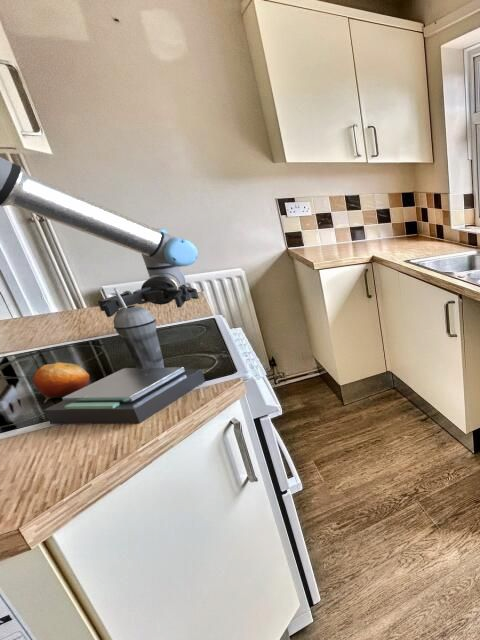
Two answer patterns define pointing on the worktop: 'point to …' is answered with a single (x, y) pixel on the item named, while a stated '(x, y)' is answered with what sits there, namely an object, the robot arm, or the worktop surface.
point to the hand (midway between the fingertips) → (143, 306)
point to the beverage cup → (139, 335)
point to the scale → (125, 404)
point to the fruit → (60, 379)
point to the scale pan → (124, 385)
